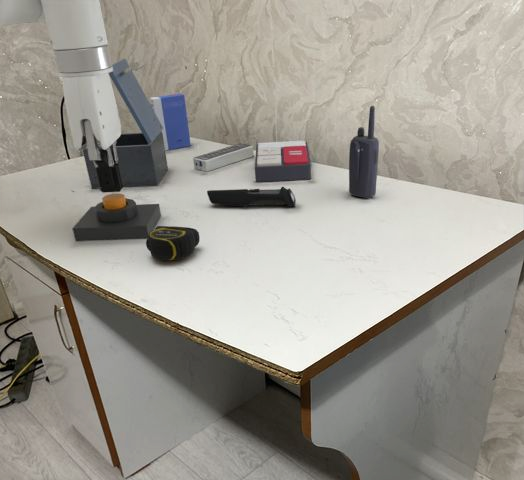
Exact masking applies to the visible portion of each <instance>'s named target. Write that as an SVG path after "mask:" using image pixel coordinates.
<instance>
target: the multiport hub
mask: <svg viewBox="0 0 524 480" xmlns="http://www.w3.org/2000/svg"><path fill="white" fill-rule="evenodd" d="M253 157H254V145H253V144H247V143H242V142H239V143H236V144H232V145H230V146H226V147H223V148H220V149H216V150H213V151H210V152H207V153H204V154H200V155H197V156H194V157H193V158H192V159H193V169H194V170H198V171H201V172H206V173H207V172H211V171H214V170H217V169H219V168H223V167H225V166H228V165H231V164H235V163H237V162H241V161H244V160H247V159H249V158H253Z"/></svg>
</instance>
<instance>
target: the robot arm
mask: <svg viewBox="0 0 524 480" xmlns="http://www.w3.org/2000/svg"><path fill="white" fill-rule="evenodd" d="M42 22H45V24H46V28H47V31H48V32H47V33H48V35H49V40H50V44H51V48H52V50H53V55H54V59H55V60H54V61H55V63H56V67H57V71H58V75H59V76H58V77H61V79H62V80H61V82H62V91H63V99H64V103H65V109H66V116H67V120H68V126H69V130H70V135H71V139H72V143H73V147H74V149H75V150H76V151H78V152H83V150H84V149H85V148H86V147H87V149H88V155H89V160H90V161H93V162H94V166H95V168H96V171H97V175H98V179H99V184H100V188H99V189H100V191H101V192H102V193H105V194H106V193H120V192H121V191H122V190H123V188H124V187H123V183H122V178H121V173H120V169H119V164H118V156H117V150H116V143H117V141H116V140H117V139H118V138H119V137H120V135H121V134H122V125H121V118H120V114H119V109H118V105H117V101H116V97H115V96H116V95H115V92H114V88H113V82H112V79H111V77H110V76H109V72H112V71H113V67H112V65H113V62H112V58H111V53H110V48H109V42H108V37H107V32H106V27H105V26H106V25H105V21H104V17H103V11H102V7H101V2H100V0H0V27H3V26H4V27H5V26H13V25H19V24H20V25H21V24H34V23H42ZM115 163H116V164H115Z"/></svg>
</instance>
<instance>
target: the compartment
mask: <svg viewBox="0 0 524 480" xmlns="http://www.w3.org/2000/svg"><path fill="white" fill-rule="evenodd" d="M116 141H117V143H116V150H117V156H118V164H119V169H120V173H121V178H122V183H123V188H133V187H135V188H136V187H156V186H159V184H160V182H161V180H162V179H163V178H164V176H165V174H166V173H167V171H168V170H169V167H168V161H167V160H168V159H167V153H166V151H165V146H164V140H163V133H162V132H160V133H159V134H158V135H157V137H156V138H155V139H154V140H153V141H152V142H151V143H149V144H148V142H147V140H146V138H145V137H144V135H143V133H142V132H127V133H126V132H125V133H124V132H123V133H121V135H120V137H119V138H118V139H117V140H116ZM82 154H83V158H84V162H85V166H86V170H87V175H88V178H89V183H90V187H91V189H101V188H100V184H99V179H98V175H97V171H96V168H95V166H94V162H93V161H90V160H89V155H88V149H87V147H86V148H85V149H84V150H82ZM115 164H116V163H115Z"/></svg>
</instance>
